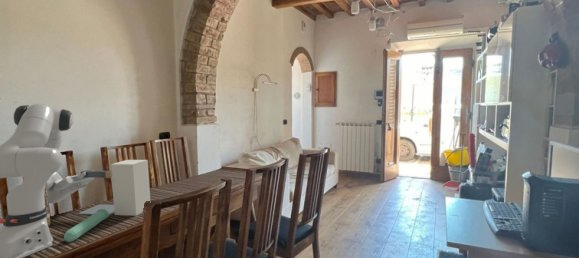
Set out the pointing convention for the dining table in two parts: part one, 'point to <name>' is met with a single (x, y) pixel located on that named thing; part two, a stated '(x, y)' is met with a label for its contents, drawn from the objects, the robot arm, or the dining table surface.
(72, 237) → the mint green rounded rod
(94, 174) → the strut
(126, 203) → the pedestal
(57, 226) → the dining table surface
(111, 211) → the mat
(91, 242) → the dining table surface
